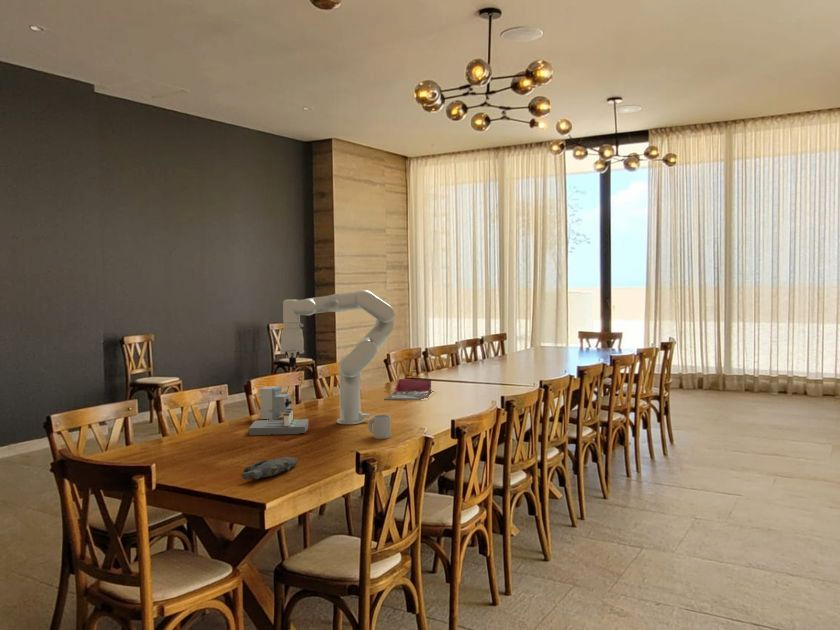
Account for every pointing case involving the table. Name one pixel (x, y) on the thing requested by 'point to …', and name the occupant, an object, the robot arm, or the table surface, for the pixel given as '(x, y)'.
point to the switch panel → (278, 427)
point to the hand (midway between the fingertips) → (292, 366)
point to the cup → (380, 426)
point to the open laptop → (411, 390)
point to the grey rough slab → (268, 467)
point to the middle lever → (289, 415)
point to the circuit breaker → (273, 402)
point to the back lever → (291, 412)
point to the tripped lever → (286, 419)
